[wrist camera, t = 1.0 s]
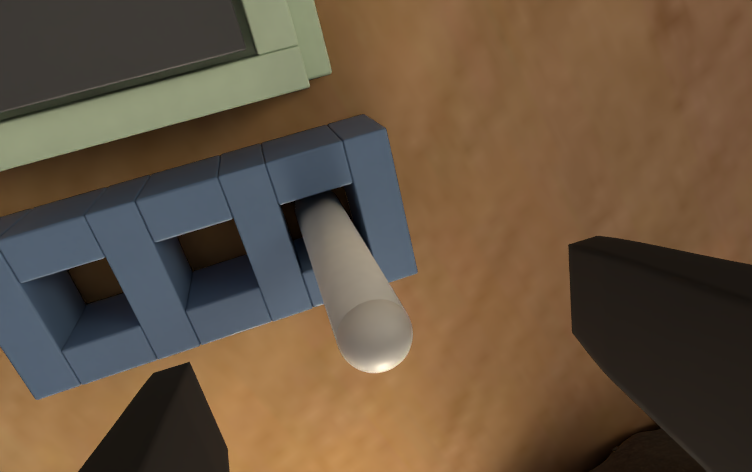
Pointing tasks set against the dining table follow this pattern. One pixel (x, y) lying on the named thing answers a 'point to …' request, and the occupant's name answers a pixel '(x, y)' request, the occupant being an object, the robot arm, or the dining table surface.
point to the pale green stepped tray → (177, 87)
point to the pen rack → (168, 262)
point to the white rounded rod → (353, 287)
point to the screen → (104, 43)
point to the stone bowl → (649, 455)
